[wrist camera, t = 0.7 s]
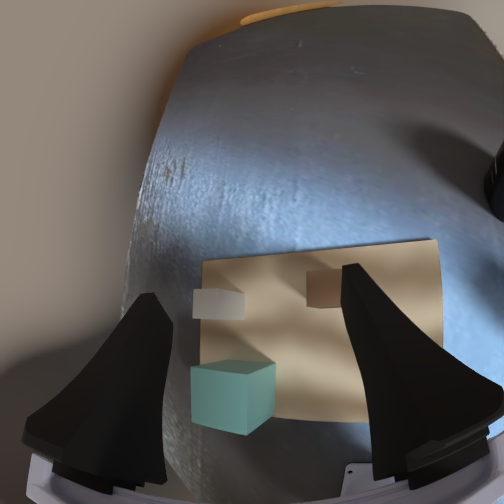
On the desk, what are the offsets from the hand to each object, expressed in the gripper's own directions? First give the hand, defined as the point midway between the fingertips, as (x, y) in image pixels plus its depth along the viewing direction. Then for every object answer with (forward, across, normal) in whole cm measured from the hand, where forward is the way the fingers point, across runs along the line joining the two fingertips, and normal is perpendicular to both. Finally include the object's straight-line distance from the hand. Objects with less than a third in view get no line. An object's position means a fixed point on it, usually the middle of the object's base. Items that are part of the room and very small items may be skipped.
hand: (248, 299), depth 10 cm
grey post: (+11, +4, +13) cm, 18 cm away
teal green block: (+4, +3, +18) cm, 18 cm away
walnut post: (+9, -6, +11) cm, 15 cm away
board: (+7, -3, +14) cm, 16 cm away
